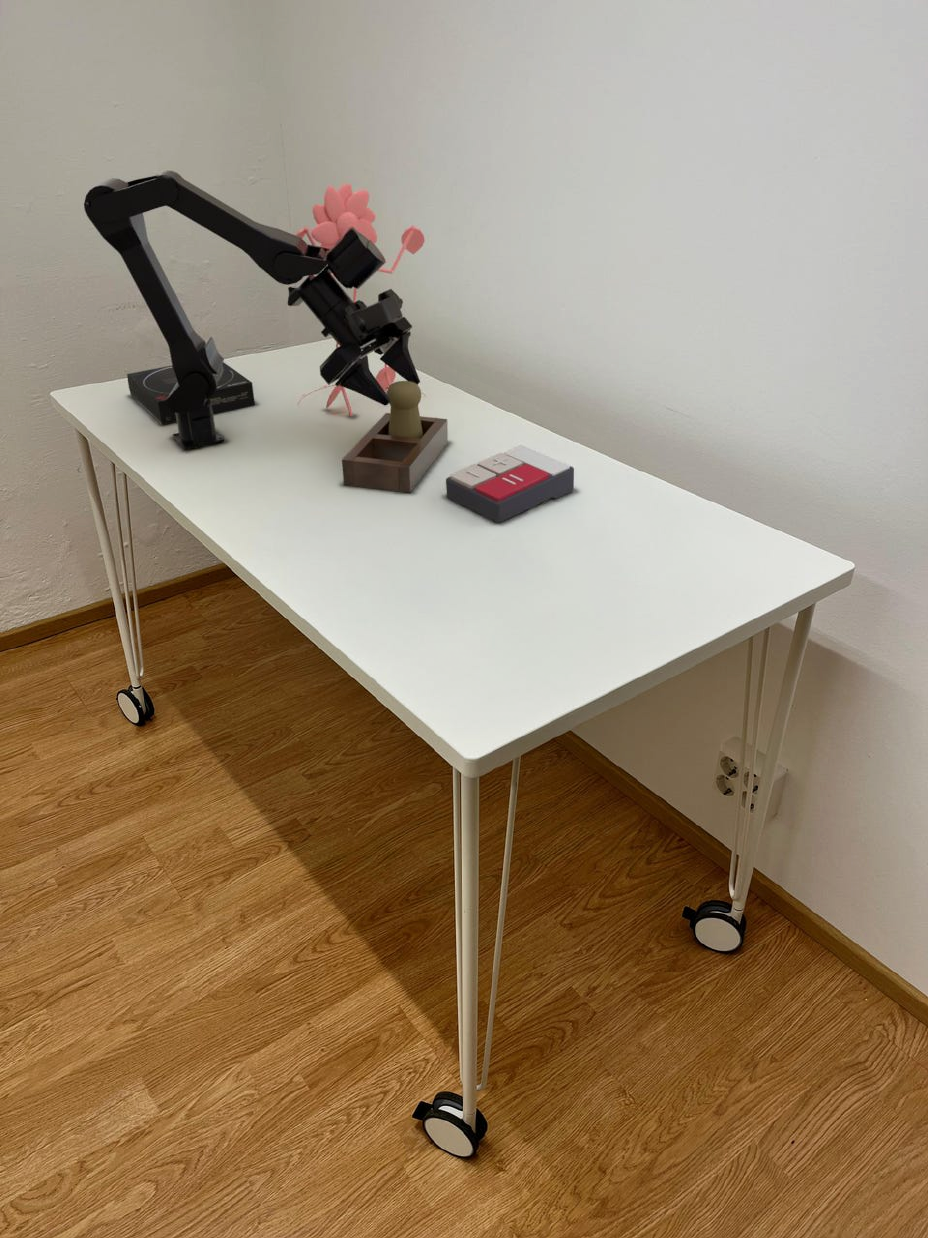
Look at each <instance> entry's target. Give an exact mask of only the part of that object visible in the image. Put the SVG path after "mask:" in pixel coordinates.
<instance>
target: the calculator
mask: <svg viewBox="0 0 928 1238" xmlns="http://www.w3.org/2000/svg"><path fill="white" fill-rule="evenodd" d="M449 475H450V476H448V477H446V479H445V483H446V484H445V487H446V498H448V499H450V500H451V501H453V502H455V503H458V504H460V505H461V506H463V507H465V508H467V509H469V510H471V511H473V512H475V513H477V514H479V515H481V516H483V517H484V518H487V519H489V520H491V521H493V522H495V523H498V524H499V523H500V524H501V523H502V522H504V521H506V520H509V519H510V518H512V517H514V516H516V515H518V514H520V513H523V512H524V511H527V510H529V509H531V508H533V507H535V506H536V505H539V504H541V503H543V502H545V501H547V500H549V499H551V498H553V499H559V498H561V497H563V496H565V495H567V494H569V493H571V492H573V491H574V488H575V487H574V486H575V468H574V466H571V465H569V464H567V463H566V462H563V461H561V460H558V459H556V458H553V457H551V456H549V455H546V454H544V453H543V452H540V451H537V450H535V449H532V448H530V447H528V446H525V445H522V444H520V445H517V446H515V447H512V448H510V449H508V450H506V451H504V452H499V453H496V454H494V455H492V456H490V457H488V458H485V459H483V460H480V461H478V462H477V464H471V465H469V466H467V467H464V468H461V469H460V470H457V471H455V472H453V473H451V474H449Z"/></svg>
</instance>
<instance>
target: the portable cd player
mask: <svg viewBox="0 0 928 1238" xmlns="http://www.w3.org/2000/svg"><path fill="white" fill-rule="evenodd" d="M222 366H223V376H222V378H221V381H220V383H219V385H218V387H217V389H216V390H215V392H214V394H213V395H212V396H211V397H209V399H210V400H211V404H212V411H213V415H215V414H220V413H224V412H229V411H234V410H239V409H244V408H248V407H252V406H255V405H256V403H255V393H254V387H253V386H254V385H253V382H252V381H251V380H249V379H248V378H247V377H245V376H244V375H242V374H241V373H240V372H238V371H237V370H236V369H234V368H232V367H231V366H230V365H228V364H227V363H225V362H224V361H223V363H222ZM126 376H127V386H128V390H129V393H130V396H131V398H133V399H134V400H135V401H136V402H137V403H138V404H139V405H140V406H141V407H142V408H143V409H144V410H145V411H147V413H148V414H149V415H151V416H152V417H153V419H155V420H156V421H157V422H158V424H160V425H161V426H165V425H170V424H174V423H175V424H176V423H177V420H176V415H175V413H172V412H171V410H170V408H169V406H168V405H167V403H166V400H167V398H168V396H169V395H170V393H171V392H172V390H173V388H174V387H175V385H176V383H177V379H176V377H175V374H174V371H173V367H172V365H169V366H168V365H167V366H161V367H157V368H151V369H146V370H142V371H141V370H140V371H136V372H131V373H126Z"/></svg>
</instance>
